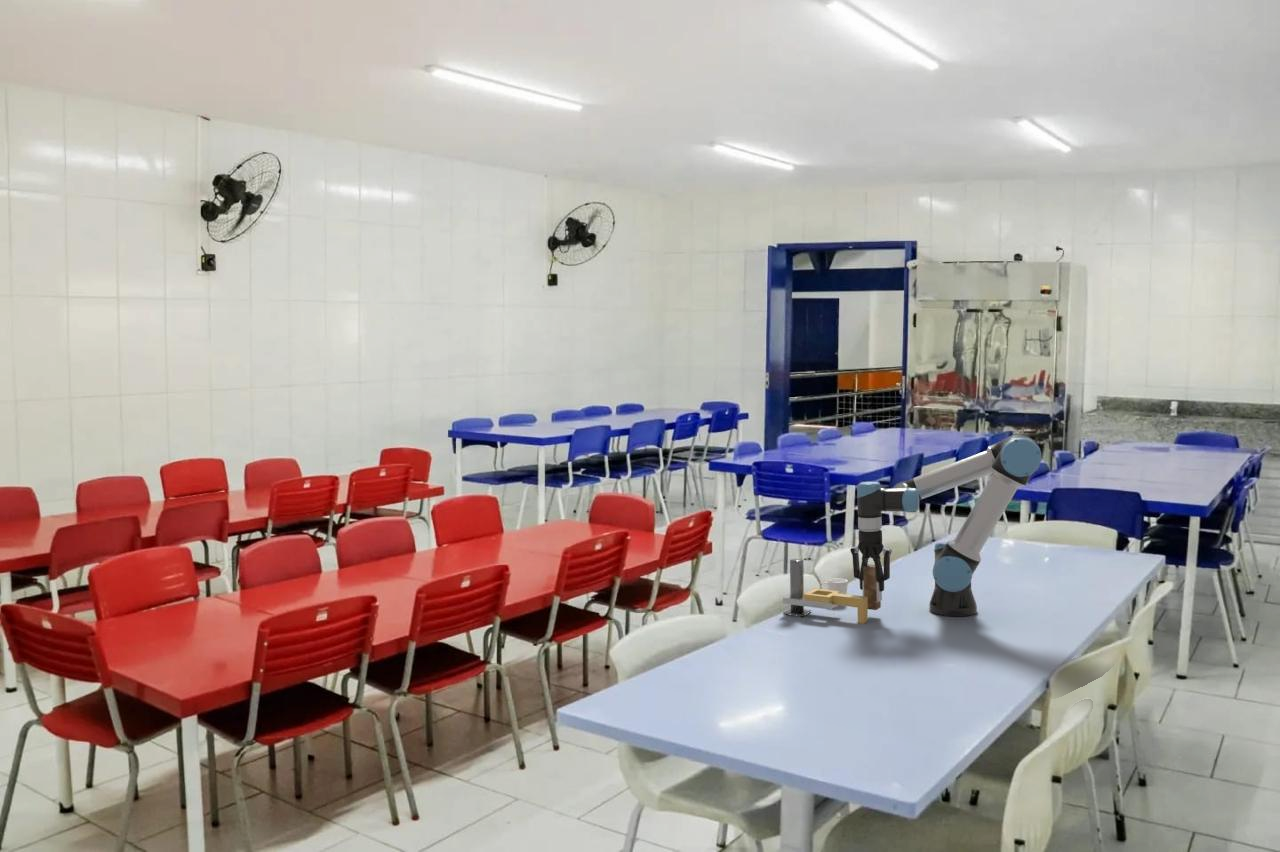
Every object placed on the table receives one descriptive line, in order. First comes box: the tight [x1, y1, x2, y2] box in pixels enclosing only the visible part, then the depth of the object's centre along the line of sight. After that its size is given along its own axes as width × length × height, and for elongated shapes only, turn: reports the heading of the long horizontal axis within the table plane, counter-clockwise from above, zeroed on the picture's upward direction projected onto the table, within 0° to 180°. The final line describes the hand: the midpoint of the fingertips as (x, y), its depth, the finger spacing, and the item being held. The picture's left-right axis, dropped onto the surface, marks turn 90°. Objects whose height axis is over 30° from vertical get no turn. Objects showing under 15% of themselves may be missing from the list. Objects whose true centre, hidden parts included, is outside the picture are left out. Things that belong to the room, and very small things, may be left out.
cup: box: [819, 577, 849, 594], centre depth 365 cm, size 7×10×8 cm
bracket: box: [804, 588, 869, 625], centre depth 345 cm, size 20×9×8 cm, turn 57°
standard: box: [782, 558, 839, 617], centre depth 349 cm, size 18×9×18 cm, turn 57°
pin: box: [863, 563, 882, 611], centre depth 345 cm, size 4×4×14 cm
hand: (872, 600), depth 345 cm, fingers closed on pin, 4 cm apart
